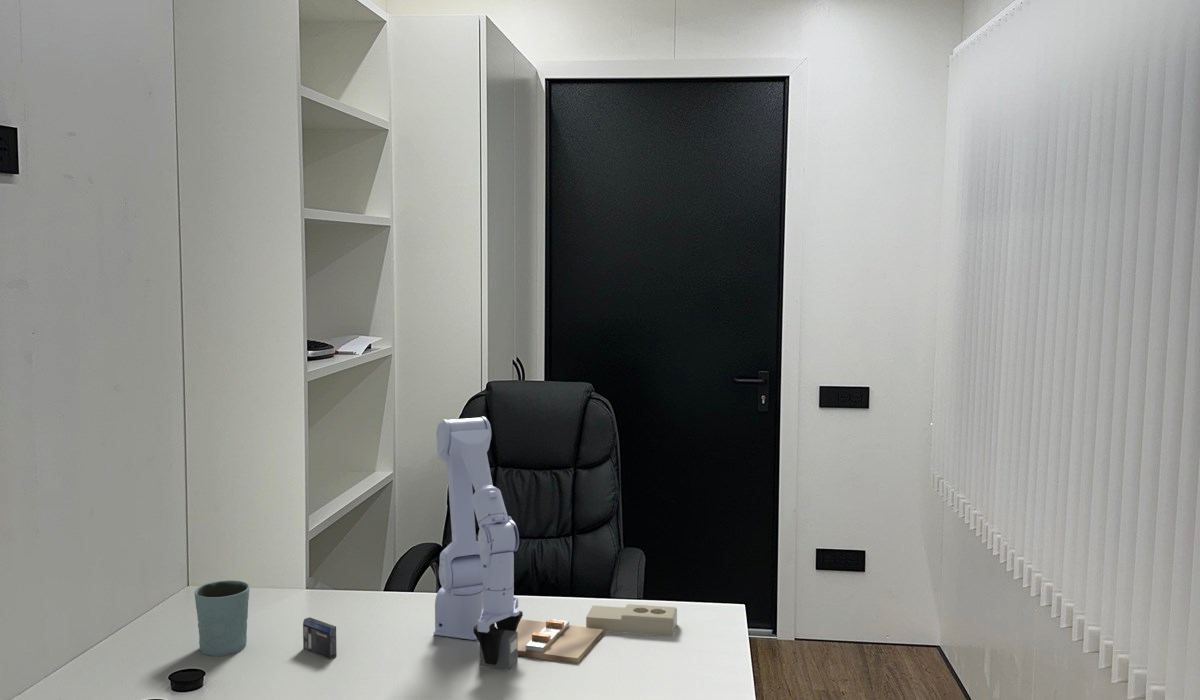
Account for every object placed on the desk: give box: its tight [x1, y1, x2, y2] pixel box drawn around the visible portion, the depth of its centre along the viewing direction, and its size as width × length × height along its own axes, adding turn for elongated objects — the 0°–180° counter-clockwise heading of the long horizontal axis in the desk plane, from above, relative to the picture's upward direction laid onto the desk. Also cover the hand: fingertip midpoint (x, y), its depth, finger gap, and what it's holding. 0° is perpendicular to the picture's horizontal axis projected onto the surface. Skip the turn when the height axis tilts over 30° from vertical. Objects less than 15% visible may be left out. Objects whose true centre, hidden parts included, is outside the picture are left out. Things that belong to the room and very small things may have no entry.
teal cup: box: [194, 579, 250, 657], centre depth 199 cm, size 10×10×12 cm
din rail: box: [526, 618, 570, 652], centre depth 203 cm, size 4×15×2 cm, turn 162°
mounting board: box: [516, 618, 605, 664], centre depth 203 cm, size 18×16×1 cm
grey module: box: [479, 630, 519, 671], centre depth 192 cm, size 6×4×6 cm, turn 72°
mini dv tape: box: [302, 616, 338, 660], centre depth 197 cm, size 8×2×6 cm, turn 53°
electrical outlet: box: [585, 603, 678, 637], centre depth 212 cm, size 7×4×18 cm
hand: (498, 656), depth 192 cm, fingers open, 6 cm apart
